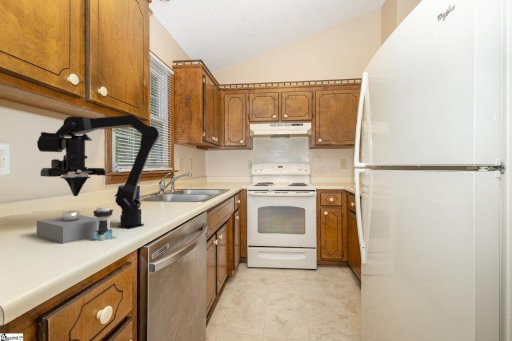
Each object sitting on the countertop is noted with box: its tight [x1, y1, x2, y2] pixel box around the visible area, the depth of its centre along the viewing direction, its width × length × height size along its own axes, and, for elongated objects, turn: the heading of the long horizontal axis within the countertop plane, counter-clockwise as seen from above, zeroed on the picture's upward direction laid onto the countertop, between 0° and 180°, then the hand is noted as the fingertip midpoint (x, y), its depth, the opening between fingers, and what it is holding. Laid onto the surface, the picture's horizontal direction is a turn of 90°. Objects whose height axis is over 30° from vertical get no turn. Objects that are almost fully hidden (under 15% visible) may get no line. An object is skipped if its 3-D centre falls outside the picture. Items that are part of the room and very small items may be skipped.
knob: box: [61, 210, 81, 221], centre depth 84 cm, size 5×5×8 cm
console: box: [36, 214, 100, 244], centre depth 84 cm, size 12×16×5 cm
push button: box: [92, 206, 118, 242], centre depth 80 cm, size 7×5×10 cm
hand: (75, 196), depth 91 cm, fingers closed
